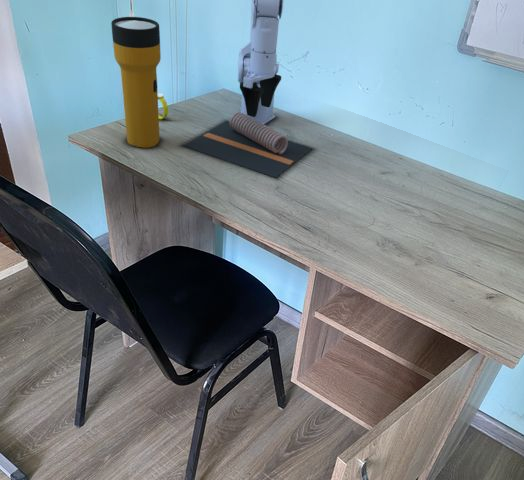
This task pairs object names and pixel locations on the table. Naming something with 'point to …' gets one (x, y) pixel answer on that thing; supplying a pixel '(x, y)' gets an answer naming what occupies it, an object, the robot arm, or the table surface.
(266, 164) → the mat
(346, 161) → the table surface
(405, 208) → the table surface
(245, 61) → the robot arm
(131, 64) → the flashlight
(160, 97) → the watch
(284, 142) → the coil
